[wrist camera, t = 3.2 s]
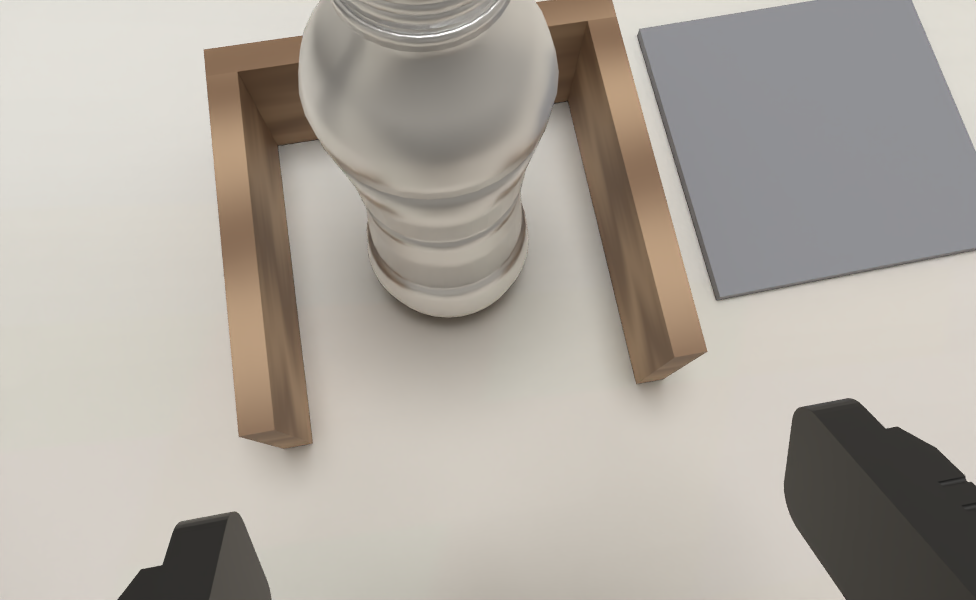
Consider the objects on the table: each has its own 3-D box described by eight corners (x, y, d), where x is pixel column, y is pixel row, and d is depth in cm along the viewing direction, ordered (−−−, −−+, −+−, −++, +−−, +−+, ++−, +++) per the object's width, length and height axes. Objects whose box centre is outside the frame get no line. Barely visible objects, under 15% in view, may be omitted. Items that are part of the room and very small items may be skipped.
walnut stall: (663, 379, 31) (707, 351, 25) (283, 448, 30) (238, 436, 24) (586, 75, 35) (609, -9, 29) (249, 126, 34) (203, 49, 28)
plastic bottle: (538, 313, 32) (644, 22, 12) (387, 342, 31) (250, 87, 12) (507, 182, 33) (558, -255, 14) (363, 208, 33) (211, -208, 13)
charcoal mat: (716, 300, 32) (720, 297, 31) (637, 35, 36) (639, 28, 35) (1005, 244, 33) (1013, 240, 32) (899, -8, 37) (905, -15, 36)
